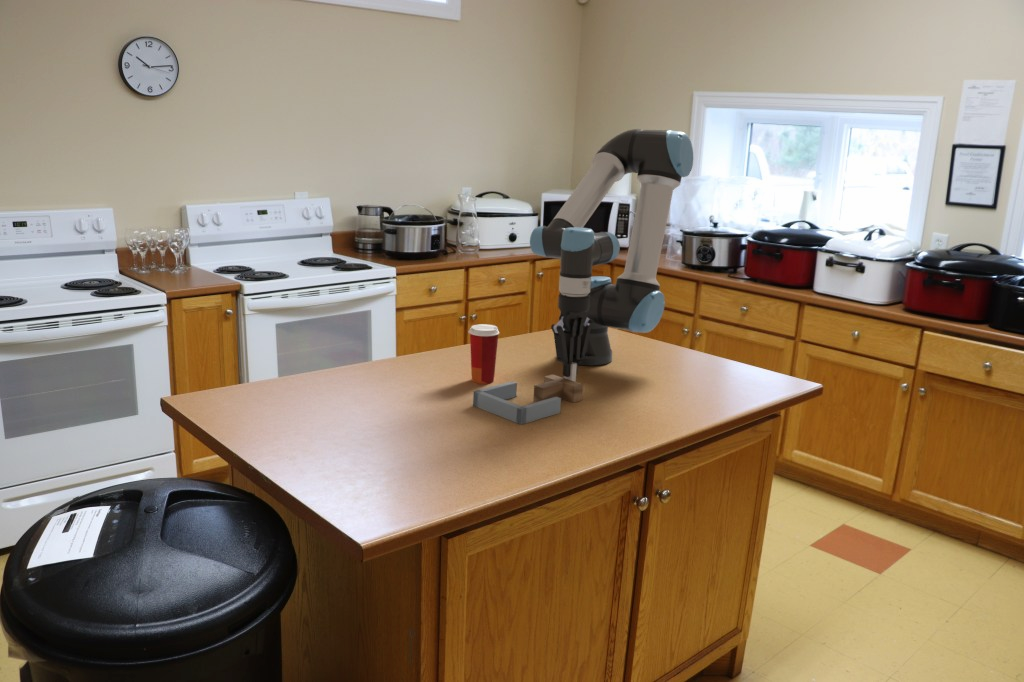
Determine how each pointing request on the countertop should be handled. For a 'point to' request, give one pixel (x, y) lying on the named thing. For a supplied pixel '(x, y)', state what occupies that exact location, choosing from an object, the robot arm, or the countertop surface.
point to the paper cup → (483, 352)
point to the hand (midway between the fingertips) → (569, 388)
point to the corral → (497, 404)
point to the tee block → (558, 389)
